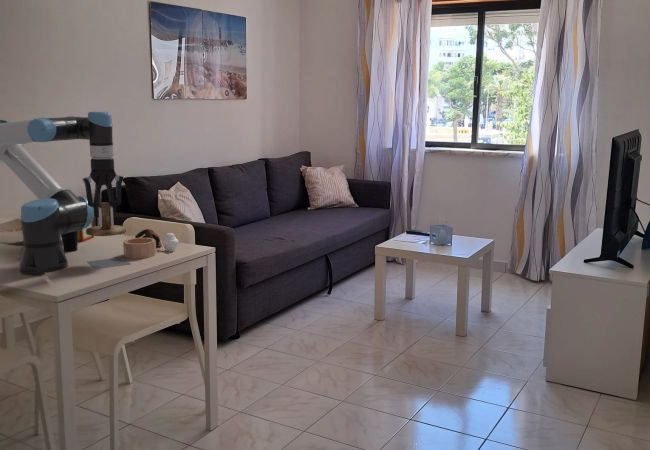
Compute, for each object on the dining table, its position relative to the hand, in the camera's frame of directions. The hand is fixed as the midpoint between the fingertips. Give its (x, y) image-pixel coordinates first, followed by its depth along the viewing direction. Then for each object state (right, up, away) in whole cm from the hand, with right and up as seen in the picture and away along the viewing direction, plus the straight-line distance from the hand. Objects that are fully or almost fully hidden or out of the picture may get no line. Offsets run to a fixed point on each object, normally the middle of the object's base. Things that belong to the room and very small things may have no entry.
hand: (105, 225), depth 228 cm
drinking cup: (-22, -10, +25) cm, 34 cm away
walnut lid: (0, -2, 0) cm, 2 cm away
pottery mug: (+7, -9, +31) cm, 33 cm away
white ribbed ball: (+17, -10, +25) cm, 31 cm away
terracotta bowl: (+8, -11, +14) cm, 20 cm away
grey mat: (0, -14, +3) cm, 14 cm away
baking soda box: (-25, -6, +44) cm, 51 cm away
